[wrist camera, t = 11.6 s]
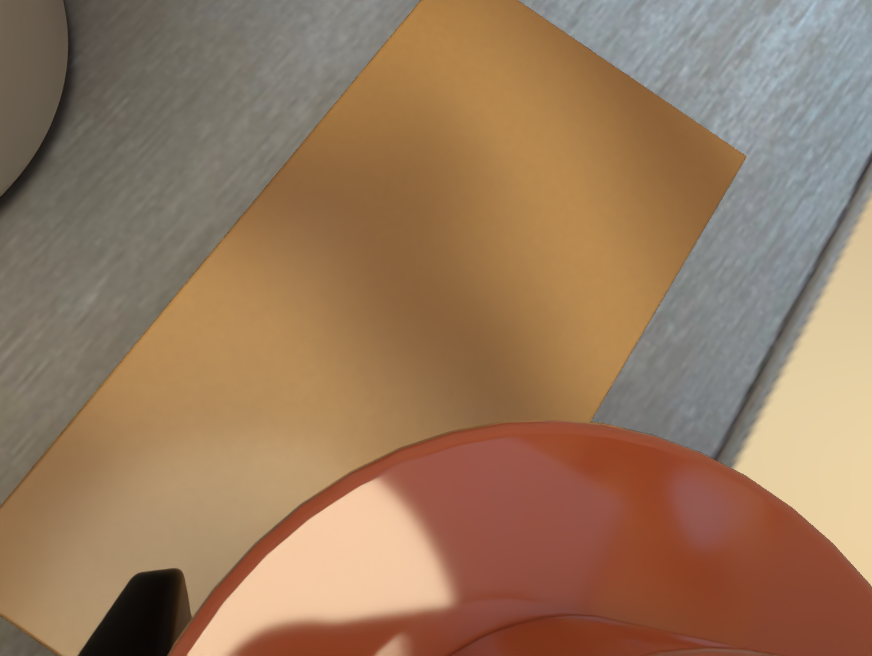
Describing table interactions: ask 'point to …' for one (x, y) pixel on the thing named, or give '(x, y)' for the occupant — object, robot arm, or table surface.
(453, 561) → the orange knobbed cylinder
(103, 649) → the robot arm
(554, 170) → the low shelf board
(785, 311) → the table surface
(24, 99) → the cylinder vase
